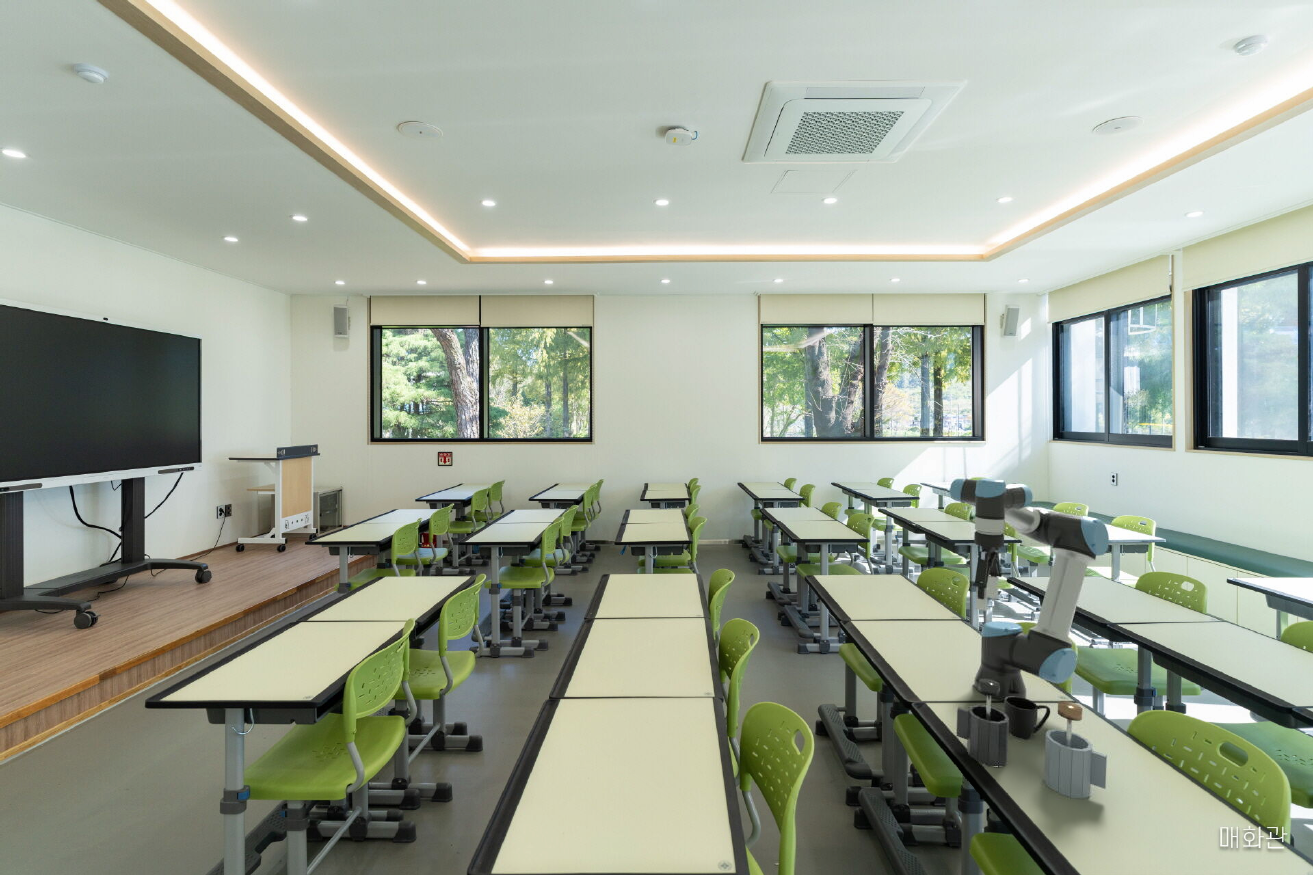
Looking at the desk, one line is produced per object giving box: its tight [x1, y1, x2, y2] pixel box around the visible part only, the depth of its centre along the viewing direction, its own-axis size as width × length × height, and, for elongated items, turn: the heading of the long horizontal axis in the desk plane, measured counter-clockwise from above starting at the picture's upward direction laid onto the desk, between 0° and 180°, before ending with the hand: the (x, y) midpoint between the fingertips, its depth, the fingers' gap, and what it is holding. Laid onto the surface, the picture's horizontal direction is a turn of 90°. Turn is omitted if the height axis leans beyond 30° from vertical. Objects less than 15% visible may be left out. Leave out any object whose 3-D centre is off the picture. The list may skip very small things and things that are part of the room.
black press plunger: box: [978, 679, 1000, 721], centre depth 156 cm, size 6×6×18 cm
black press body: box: [956, 704, 1010, 768], centre depth 157 cm, size 9×12×12 cm
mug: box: [1003, 696, 1051, 741], centre depth 167 cm, size 8×12×10 cm
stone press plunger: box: [1057, 700, 1083, 748], centre depth 144 cm, size 6×6×18 cm
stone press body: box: [1043, 728, 1108, 800], centre depth 143 cm, size 9×12×12 cm
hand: (987, 603), depth 167 cm, fingers open, 13 cm apart
